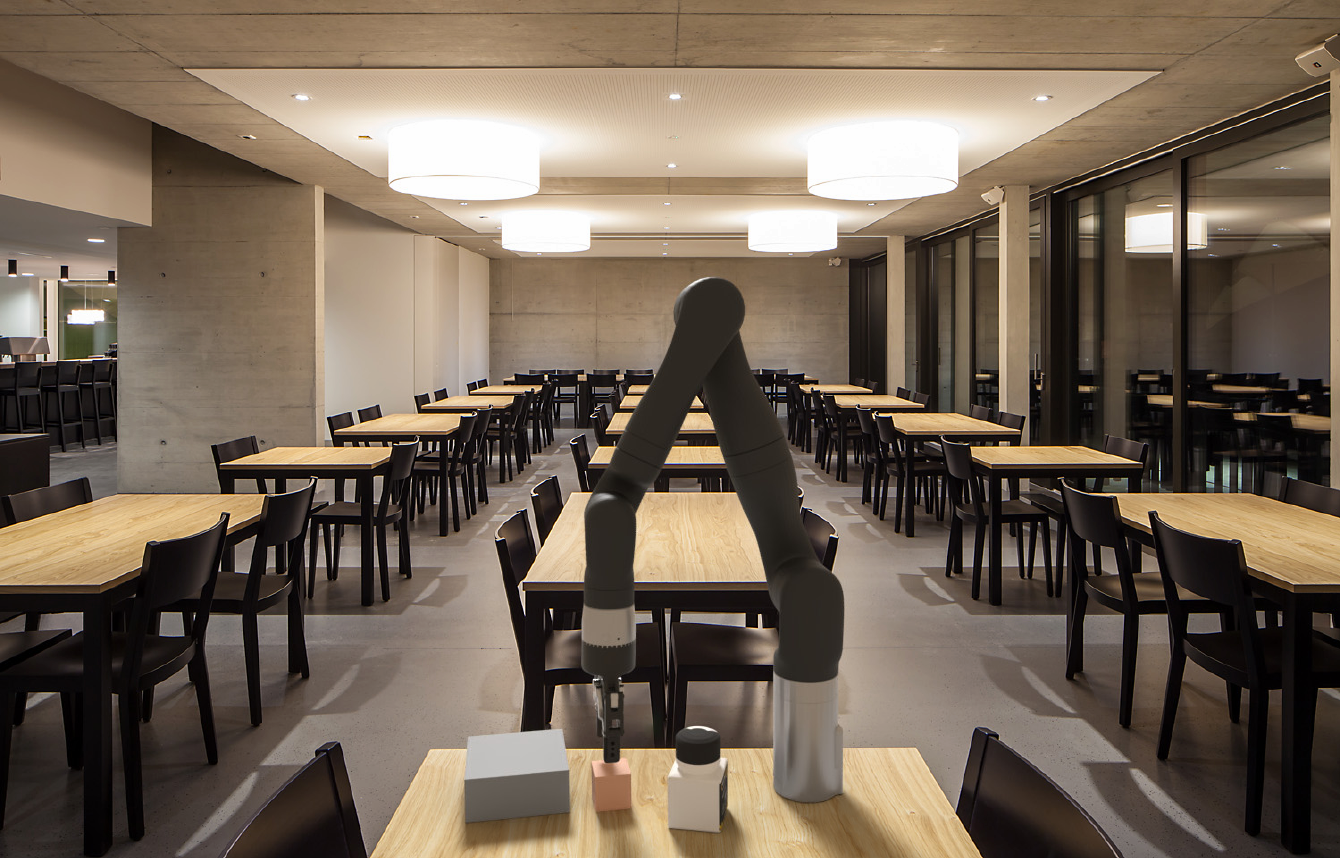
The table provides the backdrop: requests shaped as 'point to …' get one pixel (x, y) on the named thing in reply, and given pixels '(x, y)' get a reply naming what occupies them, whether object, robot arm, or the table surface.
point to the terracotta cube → (611, 785)
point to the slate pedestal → (516, 775)
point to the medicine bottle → (698, 782)
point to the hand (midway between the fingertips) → (607, 748)
